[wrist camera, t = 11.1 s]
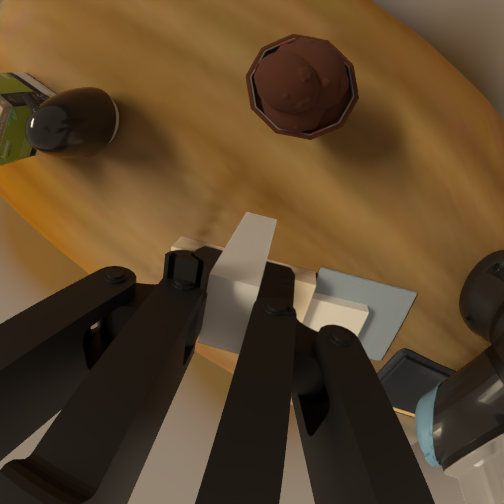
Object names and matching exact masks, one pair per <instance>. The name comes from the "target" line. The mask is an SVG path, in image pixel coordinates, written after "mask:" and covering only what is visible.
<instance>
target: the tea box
mask: <svg viewBox="0 0 504 504" xmlns="http://www.w3.org/2000/svg"><path fill="white" fill-rule="evenodd" d="M28 91H29V92H30V93H31V94H32V95H33V96H34V97H35V99H36V100H37V101H38V102H39V103H40V104H41V103H43V102H44V101H46V100H47V99H49V98H50V97H52V96H54V95H57V94H55V93H54V92H52V91H51V90H49V89H48V88H47V87H45V86H44V85H42V84H41V83H39V82H38V81H36V80H35V79H33V78H32V77H31V76H29V75H28V74H26V73H24V72H14V73H0V166H1V165H4V164H7V163H11V162H14V161H16V160H20V159H24V158H27V157H30V156H34V155H38V154H42V152H40V151H38V150H36V149H35V148H33V147H32V146H31V145H30V144H29V142H28V141H27V139H26V136H25V124H26V121H27V119H28V117H29V115H30V114H31V110H30V109H29V107H28V105H27V104H26V102H25V100H24V98H23V95H24V94H25V93H26V92H28Z"/></svg>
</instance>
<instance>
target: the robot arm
mask: <svg viewBox="0 0 504 504" xmlns="http://www.w3.org/2000/svg"><path fill="white" fill-rule="evenodd" d="M276 222H277V220H276V219H272V218H269V217H265V216H261V215H257V214H253V213H249V212H246V214H245V215H244V217H243V219H242V220H241V222H240V224H239V225H238V227H237V229H236V230H235V232H234V234H233V235H232V237H231V239H230V240H229V242H228V244H227V245H226V247H225V249H224V250H219V249H215V248H212V247H208V246H203V247H201V248H198V249H196V250H195V251H189V250H174V251H170V252H168V253H167V254H165V263H164V274H163V279H162V280H161V281H160V282H159V284H156V285H154V284H141V283H136V275H135V273H134V272H132V271H131V270H130V269H127V268H124V267H121V266H110V267H105V268H102V269H100V270H98V271H96V272H94V273H92V274H90V275H88V276H86V277H85V278H83V279H81V280H79V281H77V282H75V283H73V284H71V285H69V286H68V287H66V288H64V289H62V290H60V291H58V292H56V293H55V294H53V295H51V296H49V297H47V298H46V299H44V300H42V301H40V302H38V303H36V304H35V305H33V306H31V307H29V308H28V309H26V310H24V311H22V312H20V313H19V314H17V315H15V316H13V317H12V318H10V319H8V320H6V321H5V322H3V323H1V324H0V461H1V460H2V459H3V458H4V457H6V456H7V455H8V454H9V453H10V452H12V451H13V450H14V449H15V448H16V447H17V446H19V445H20V444H21V443H22V442H23V441H24V440H26V439H27V438H28V437H29V436H31V435H32V434H33V433H34V432H35V431H36V430H38V429H39V428H40V427H41V426H42V425H44V424H45V423H46V422H47V421H48V420H50V419H51V418H52V417H53V416H54V415H55V414H57V413H58V412H59V411H60V410H61V409H62V410H61V412H60V413H59V415H58V416H57V417H56V419H55V420H54V422H53V423H52V424H51V426H50V427H49V429H48V430H47V432H46V433H45V435H44V436H43V438H42V439H41V441H40V442H39V444H38V445H37V447H36V448H35V450H34V451H33V452H32V454H31V455H30V456H29V457H27V458H26V459H16V460H12V461H10V462H8V463H6V464H5V465H4V466H3V468H2V469H1V470H0V504H127V503H128V501H129V498H130V496H131V494H132V491H133V489H134V487H135V484H136V482H137V480H138V478H139V475H140V473H141V470H142V468H143V466H144V464H145V462H146V459H147V457H148V455H149V452H150V450H151V448H152V445H153V443H154V441H155V439H156V437H157V434H158V432H159V430H160V427H161V425H162V423H163V420H164V418H165V416H166V414H167V412H168V409H169V407H170V405H171V403H172V400H173V398H174V396H175V394H176V391H177V389H178V387H179V385H180V383H181V380H182V378H183V376H184V373H185V371H186V369H187V367H188V365H189V363H190V360H191V358H192V356H193V354H194V349H195V342H196V340H197V338H198V335H199V340H198V342H199V343H202V344H205V345H209V346H212V347H215V348H219V349H222V350H226V351H229V352H233V353H237V354H239V357H238V361H237V364H236V368H235V371H234V375H233V378H232V382H231V385H230V389H229V392H228V396H227V399H226V403H225V406H224V409H223V412H222V416H221V420H220V423H219V426H218V430H217V433H216V436H215V440H214V443H213V447H212V450H211V453H210V456H209V460H208V463H207V466H206V469H205V473H204V476H203V479H202V483H201V486H200V489H199V492H198V496H197V499H196V502H195V504H279V500H280V493H281V485H282V477H283V469H284V460H285V451H286V442H287V432H288V422H289V413H290V402H291V397H292V401H293V406H294V410H295V415H296V419H297V424H298V428H299V433H300V437H301V442H302V446H303V451H304V456H305V460H306V464H307V469H308V474H309V478H310V483H311V487H312V492H313V496H314V501H315V504H435V503H434V500H433V498H432V495H431V493H430V490H429V488H428V485H427V483H426V481H425V478H424V476H423V473H422V471H421V469H420V467H419V464H418V462H417V459H416V457H415V455H414V453H413V450H412V448H411V446H410V444H409V441H408V439H407V437H406V435H405V432H404V430H403V428H402V426H401V424H400V422H399V419H398V417H397V415H396V413H395V411H394V409H393V407H392V404H391V402H390V400H389V398H388V396H387V394H386V392H385V390H384V388H383V386H382V384H381V382H380V380H379V377H378V375H377V373H376V371H375V369H374V367H373V365H372V363H371V361H370V359H369V357H368V355H367V353H366V351H365V350H364V348H363V346H362V344H361V342H360V340H359V338H358V337H357V336H356V335H355V334H354V333H353V332H352V331H350V330H349V329H347V328H344V327H342V326H338V325H325V326H323V327H321V328H320V330H319V332H317V331H315V330H313V329H311V328H309V327H307V326H305V325H304V324H302V323H301V322H300V321H299V320H298V319H297V314H296V310H295V309H294V307H293V304H294V287H295V273H294V272H293V270H292V269H291V267H287V266H283V265H279V264H276V263H272V262H268V261H267V257H268V253H269V249H270V245H271V241H272V238H273V234H274V230H275V226H276ZM459 307H460V313H461V316H462V318H463V320H464V321H465V323H466V324H467V326H468V327H469V328H470V329H471V330H472V331H473V332H475V333H476V334H478V335H479V336H481V337H483V338H484V339H486V340H488V341H489V342H491V344H492V345H491V346H489V347H488V348H487V349H486V350H484V351H483V352H482V353H481V354H479V355H478V356H477V357H476V358H474V359H473V360H472V361H470V362H469V363H468V364H466V365H465V366H464V367H462V368H461V369H460V370H458V371H457V372H455V373H454V374H453V375H451V376H450V377H448V378H447V379H445V380H444V381H441V382H439V383H438V384H437V386H436V387H435V388H433V389H432V390H430V391H429V392H428V393H426V394H425V395H423V396H422V397H421V399H420V400H419V402H418V404H417V408H416V412H415V424H416V432H417V437H418V441H419V444H420V448H421V450H422V452H424V456H425V459H426V460H427V462H428V463H429V464H430V465H431V466H433V467H441V466H442V468H443V471H444V474H445V475H448V476H451V477H455V478H456V479H458V481H459V485H460V488H461V491H462V495H463V498H464V502H465V504H504V250H500V251H497V252H494V253H492V254H490V255H488V256H487V257H485V258H484V259H483V260H481V261H480V262H479V263H478V264H477V265H476V266H475V268H474V269H473V270H472V271H471V273H470V274H469V276H468V278H467V279H466V281H465V283H464V286H463V288H462V291H461V295H460V302H459ZM97 322H98V326H97V327H96V328H94V329H92V330H91V328H90V327H91V326H92V325H94V324H95V323H97ZM199 333H200V334H199Z"/></svg>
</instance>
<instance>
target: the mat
mask: <svg viewBox="0 0 504 504" xmlns="http://www.w3.org/2000/svg"><path fill="white" fill-rule="evenodd" d="M314 292H316V293H320V294H324V295H328V296H332V297H336V298H340V299H344V300H348V301H352V302H356V303H360V304H364V305H367V307H368V310H369V314H368V316H367V318H366V320H365V322H364V324H363V326H362V328H361V330H360V332H359V334H358V336H357V337H358V338H359V340H360V342H361V344H362V346H363V348H364V350H365V351H366V353H367V355H368V357H369V359H374V360H379V361H381V359H382V358H383V356H384V354H385V353H386V351H387V349H388V347H389V346H390V344H391V342H392V340H393V339H394V337H395V335H396V333H397V331H398V330H399V328H400V326H401V324H402V322H403V320H404V319H405V317H406V315H407V313H408V311H409V309H410V307H411V305H412V303H413V301H414V299H415V297H416V295H417V292H414V291H410V290H407V289H403V288H399V287H395V286H392V285H388V284H384V283H380V282H377V281H373V280H369V279H366V278H362V277H358V276H354V275H351V274H347V273H343V272H339V271H336V270H332V269H328V268H324V267H321V268H320V270H319V273H318V276H317V279H316V288H315V290H314Z"/></svg>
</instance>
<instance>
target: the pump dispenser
mask: <svg viewBox="0 0 504 504" xmlns="http://www.w3.org/2000/svg"><path fill="white" fill-rule="evenodd" d="M23 98H24V100H25V102H26V104H27V105H28V107H29V109H30V110H31V114H30V115H29V117H28V119H27V121H26V124H25V136H26V139H27V141H28V142H29V144H30V145H31V146H32V147H33V148H35V149H36V150H38V151H40V152H42V153H45V154H48V155H51V156H56V157H61V158H86V157H91V156H94V155H96V154H98V153H100V152H101V151H102V150H104V149H105V148H106V146H107V145H108V144H109V143H110V142H111V141H112V139H113V138H114V136H115V134H116V132H117V129H118V125H119V112H118V108H117V106H116V104H115V102H114V101H113V99H112V98H111V97H110V96H109V95H108V94H107V93H106V92H105V91H103V90H101V89H99V88H95V87H83V88H76V89H71V90H67V91H64V92H61V93H59V94H57V95H54V96H52V97H50V98H49V99H47V100H46V101H44V102H43V103H41V104H40V103H39V102H38V101H37V100H36V99H35V97H34V96H33V95H32V94H31V93H30V92H29V91H28V92H26V93H25V94H24V95H23Z"/></svg>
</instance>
